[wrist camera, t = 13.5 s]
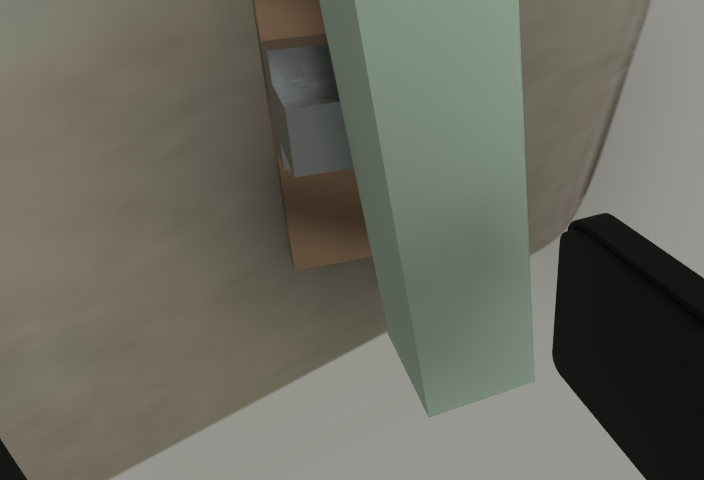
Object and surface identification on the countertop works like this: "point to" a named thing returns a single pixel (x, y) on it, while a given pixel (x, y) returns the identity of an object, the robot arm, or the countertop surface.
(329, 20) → the beam
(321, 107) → the stand
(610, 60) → the countertop surface
